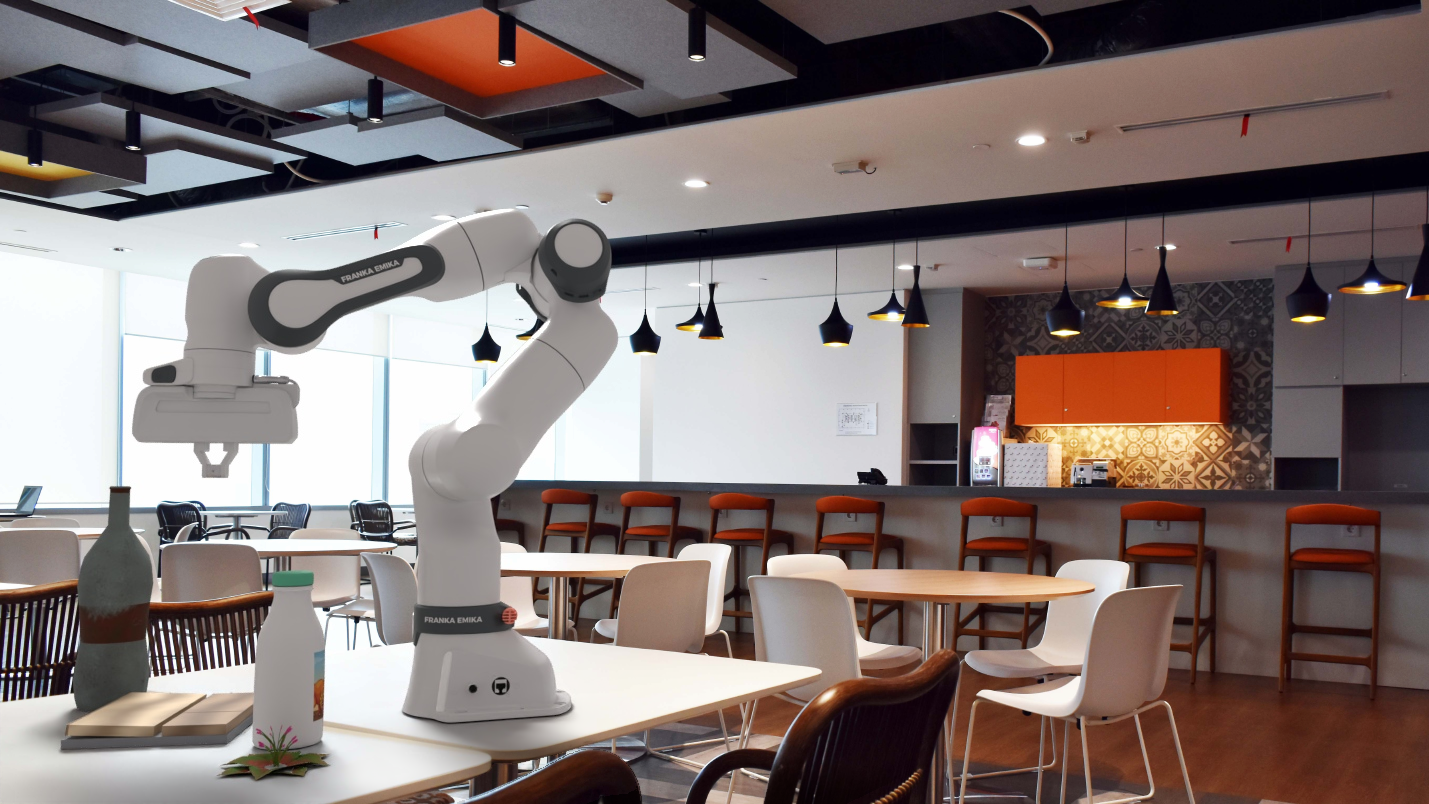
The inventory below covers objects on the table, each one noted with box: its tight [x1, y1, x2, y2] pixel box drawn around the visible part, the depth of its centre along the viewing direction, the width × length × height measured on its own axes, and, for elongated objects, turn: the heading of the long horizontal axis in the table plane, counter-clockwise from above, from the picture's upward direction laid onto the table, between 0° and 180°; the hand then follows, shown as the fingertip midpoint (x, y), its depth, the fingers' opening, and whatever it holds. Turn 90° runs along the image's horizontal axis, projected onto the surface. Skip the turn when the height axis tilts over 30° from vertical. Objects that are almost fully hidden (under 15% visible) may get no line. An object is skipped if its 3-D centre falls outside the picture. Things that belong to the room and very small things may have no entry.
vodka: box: [72, 485, 154, 713], centre depth 147 cm, size 9×9×30 cm
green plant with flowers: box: [216, 726, 331, 781], centre depth 115 cm, size 12×12×5 cm
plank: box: [64, 692, 208, 737], centre depth 133 cm, size 10×20×1 cm, turn 9°
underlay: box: [60, 714, 253, 750], centre depth 133 cm, size 18×20×1 cm
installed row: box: [161, 691, 254, 737], centre depth 134 cm, size 7×20×1 cm, turn 9°
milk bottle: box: [251, 570, 326, 751], centre depth 126 cm, size 8×8×20 cm
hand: (215, 477), depth 142 cm, fingers closed
